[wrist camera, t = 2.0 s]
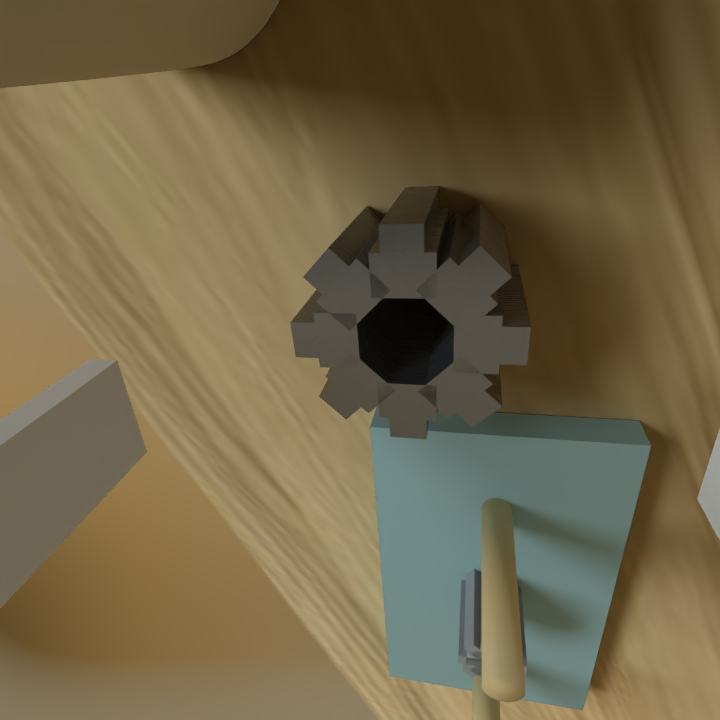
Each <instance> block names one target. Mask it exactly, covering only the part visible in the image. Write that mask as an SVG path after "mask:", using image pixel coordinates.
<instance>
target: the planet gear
mask: <svg viewBox="0 0 720 720" xmlns="http://www.w3.org/2000/svg"><path fill="white" fill-rule="evenodd" d="M304 278H305V279H306V280H307V281H308V282H309V283H310V284H311V285H313V286H314V287H315V288H316V289H317V290H316V291H315V292H314V294H313V295H312V296H311V297H310V299H309V300H308V301H307V302H306V304H305V305H304V306H303V307H302V309H301V310H300V311H299V312H298V314H297V315H296V316H295V318H294V319H293V320H292V321H291V328H292V335H293V342H294V348H295V355H296V357H308V358H319V362H320V367H330V369H329V371H328V373H327V375H326V377H327V378H328V380H327V382H326V384H325V386H324V388H323V390H322V392H321V394H320V396H319V397H320V398H322V399H323V400H324V401H325V402H326V403H327V404H329V405H330V406H331V407H332V408H333V409H335V410H336V411H337V412H338V413H339V414H341V415H342V416H343V417H344V418H345V419H347V418H349V417H350V416H351V415H352V414H353V413H354V412H356V411H357V410H358V409H359V408H360V407H362V408H363V409H364V410H365V411H367V412H368V413H369V412H370V411H372V410H373V409H374V408H375V407H376V406H378V407H379V417H382V418H389V425H390V437H399V438H413V439H427V433H428V427H429V420H430V421H437V414H438V410H439V411H441V412H442V413H443V414H444V415H445V416H446V417H447V418H448V417H450V416H451V415H452V414H454V413H455V412H456V413H457V414H458V415H459V416H460V417H461V418H462V419H464V420H465V421H466V422H467V423H468V424H469V425H470V426H471V427H474V426H475V425H477V424H478V423H480V422H481V421H482V420H484V419H485V418H487V417H488V416H489V415H491V414H492V413H494V412H495V411H497V410H498V409H499V408H501V407H502V395H501V380H500V365H526V366H527V362H528V352H529V342H530V332H531V325H530V320H529V316H528V311H527V306H526V301H525V296H524V291H523V286H522V282H521V277H520V272H519V267H518V265H510V262H509V255H508V249H507V243H506V237H505V231H504V226H503V225H502V224H501V223H500V222H499V221H498V220H497V219H496V218H495V217H494V216H493V215H492V214H491V213H490V212H489V211H488V210H487V209H486V208H485V207H484V206H483V205H482V204H481V203H479V204H478V205H477V206H476V207H475V208H474V209H473V210H472V211H471V212H470V213H469V214H468V215H467V216H466V217H465V218H464V217H463V216H462V215H461V214H460V213H459V212H457V213H456V214H455V215H454V216H453V217H452V218H451V219H450V220H449V221H448V208H439V186H435V187H410V188H405V189H404V190H403V192H402V193H401V194H400V196H399V197H398V198H397V200H396V201H395V203H394V204H393V205H392V207H391V208H390V210H389V211H388V212H387V214H386V215H385V216H384V218H383V219H382V220H381V219H380V218H379V217H378V216H377V215H376V214H375V213H374V212H373V211H372V210H371V209H370V208H369V207H366V208H365V209H364V210H363V211H362V212H361V213H360V214H359V215H358V216H357V217H356V219H355V220H354V221H353V222H352V223H351V224H350V225H349V226H348V227H347V228H346V229H345V230H344V231H343V233H342V234H341V235H340V236H339V237H338V238H337V239H336V240H335V241H334V242H333V243H332V244H331V245H330V247H329V248H328V249H327V250H326V251H325V252H324V253H323V255H322V256H321V257H320V258H319V259H318V260H317V262H316V263H315V264H314V265H313V266H312V267H311V269H310V270H309V271H308V272H307V273H306V274H305V276H304ZM392 298H423V299H425V300H427V301H428V302H429V303H430V304H431V305H432V306H433V307H434V308H435V309H436V310H437V311H438V312H439V314H409V313H408V312H407V311H406V310H404V309H403V308H402V307H401V306H400V305H399V304H398V303H397V302H396V301H395V300H394V299H392Z"/></svg>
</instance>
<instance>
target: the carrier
mask: <svg viewBox="0 0 720 720" xmlns="http://www.w3.org/2000/svg"><path fill="white" fill-rule="evenodd" d="M370 431H371V444H372V456H373V469H374V482H375V495H376V508H377V520H378V533H379V546H380V559H381V572H382V584H383V597H384V610H385V623H386V636H387V648H388V661H389V674H390V676H392V677H398V678H403V679H409V680H415V681H420V682H426V683H431V684H437V685H443V686H448V687H454V688H460V689H465V690H471V691H473V702H472V720H500V701H504V702H514V701H518V700H520V699H522V700H527V701H533V702H539V703H544V704H550V705H555V706H561V707H567V708H572V709H578V710H583V708H584V704H585V700H586V697H587V693H588V689H589V685H590V681H591V677H592V673H593V669H594V666H595V662H596V658H597V654H598V650H599V646H600V642H601V638H602V635H603V631H604V627H605V623H606V619H607V615H608V611H609V607H610V604H611V600H612V596H613V592H614V588H615V584H616V580H617V576H618V573H619V569H620V565H621V561H622V557H623V553H624V549H625V545H626V542H627V538H628V534H629V530H630V526H631V522H632V518H633V514H634V511H635V507H636V503H637V499H638V495H639V491H640V487H641V483H642V480H643V476H644V472H645V468H646V464H647V460H648V456H649V452H650V449H651V444H650V442H649V440H648V438H647V436H646V434H645V432H644V429H643V427H642V425H641V423H640V421H634V420H617V419H599V418H582V417H564V416H547V415H530V414H512V413H495V412H494V413H492V414H491V415H489V416H488V417H487V418H485V419H484V420H482V421H481V422H480V423H478V424H477V425H475V426H474V427H471V426H470V425H469V424H468V423H467V422H466V421H465V420H464V419H462V418H461V417H460V416H459V415H458V414H457V413H456V412H455V413H454V414H452V415H451V416H450V417H448V418H447V417H446V416H445V415H444V414H443V413H442V412H441V411H439V410H438V414H437V421H430V420H429V427H428V433H427V439H413V438H399V437H390V425H389V418H382V417H379V407H378V406H377V407H376V411H375V414H374V417H373V420H372V423H371V426H370Z"/></svg>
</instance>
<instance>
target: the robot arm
mask: <svg viewBox="0 0 720 720" xmlns="http://www.w3.org/2000/svg"><path fill="white" fill-rule="evenodd" d="M146 452H147V450H146V447H145V444H144V441H143V438H142V435H141V432H140V429H139V426H138V423H137V420H136V417H135V414H134V411H133V408H132V405H131V402H130V399H129V396H128V393H127V390H126V387H125V384H124V381H123V378H122V375H121V371H120V368H119V365H118V362H117V361H115V360H88V361H87V362H85V363H84V364H82V365H81V366H79V367H78V368H76V369H75V370H74V371H72V372H71V373H69V374H68V375H66V376H65V377H63V378H62V379H60V380H59V381H57V382H56V383H55V384H53V385H51V386H50V387H48V388H47V389H45V390H44V391H43V392H41V393H39V394H38V395H36V396H35V397H34V398H32V399H30V400H29V401H27V402H26V403H25V404H23V405H22V406H20V407H19V408H17V409H16V410H14V411H13V412H11V413H10V414H8V415H7V416H5V417H4V418H2V419H1V420H0V608H1V607H2V606H3V605H4V604H5V603H6V602H7V601H8V600H9V599H10V598H11V597H12V595H13V594H14V593H15V592H16V591H17V590H18V589H19V588H20V587H21V586H22V585H23V584H24V583H25V582H26V580H27V579H28V578H29V577H30V576H31V575H32V574H33V573H34V572H35V571H36V570H37V569H38V568H39V567H40V566H41V564H42V563H43V562H44V561H45V560H46V559H47V558H48V557H49V556H50V555H51V554H52V553H53V552H54V550H56V548H57V547H58V546H59V545H60V544H61V543H62V542H63V541H64V540H65V539H66V538H67V537H68V536H69V535H70V534H71V532H72V531H73V530H74V529H75V528H76V527H77V526H78V525H79V524H80V523H81V522H82V521H83V520H84V519H85V518H86V516H87V515H88V514H89V513H90V512H91V511H92V510H93V509H94V508H95V507H96V506H97V505H98V504H99V502H100V501H101V500H102V499H103V498H104V497H105V496H106V495H107V494H108V493H109V492H110V491H111V490H112V489H113V488H114V487H115V485H116V484H117V483H118V482H119V481H120V480H121V479H122V478H123V477H124V476H125V475H126V474H127V473H128V471H130V469H131V468H132V467H133V466H134V465H135V464H136V463H137V462H138V461H139V460H140V459H141V458H142V457H143V455H144V454H145V453H146ZM697 500H698V502H699V503H700V505H701V507H702V509H703V511H704V513H705V514H706V516H707V518H708V520H709V522H710V524H711V526H712V527H713V529H714V531H715V533H716V535H717V537H718V539H719V540H720V429H719V432H718V435H717V438H716V442H715V445H714V448H713V451H712V454H711V457H710V460H709V464H708V467H707V470H706V473H705V476H704V479H703V482H702V486H701V489H700V492H699V495H698V498H697Z"/></svg>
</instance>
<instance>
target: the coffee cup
mask: <svg viewBox="0 0 720 720" xmlns="http://www.w3.org/2000/svg"><path fill="white" fill-rule="evenodd" d="M278 3H279V0H0V88H6V87H16V86H27V85H37V84H47V83H57V82H68V81H78V80H88V79H98V78H107V77H116V76H125V75H134V74H144V73H153V72H162V71H171V70H180V69H186V68H192V67H197V66H203V65H207V64H212V63H215V62H218V61H220V60H223V59H225V58H228V57H229V56H231V55H233V54H234V53H236V52H238V51H239V50H241V49H242V48H243V47H244V46H246V45H247V44H248V43H249V42H250V41H251V40H252V39H253V38H254V37H255V36H256V35H257V34H258V33H259V32H260V31H261V30H262V28H263V27H264V26H265V24H266V23H267V21H268V20H269V18H270V17H271V15H272V13H273V12H274V10H275V8H276V6H277V5H278Z"/></svg>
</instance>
